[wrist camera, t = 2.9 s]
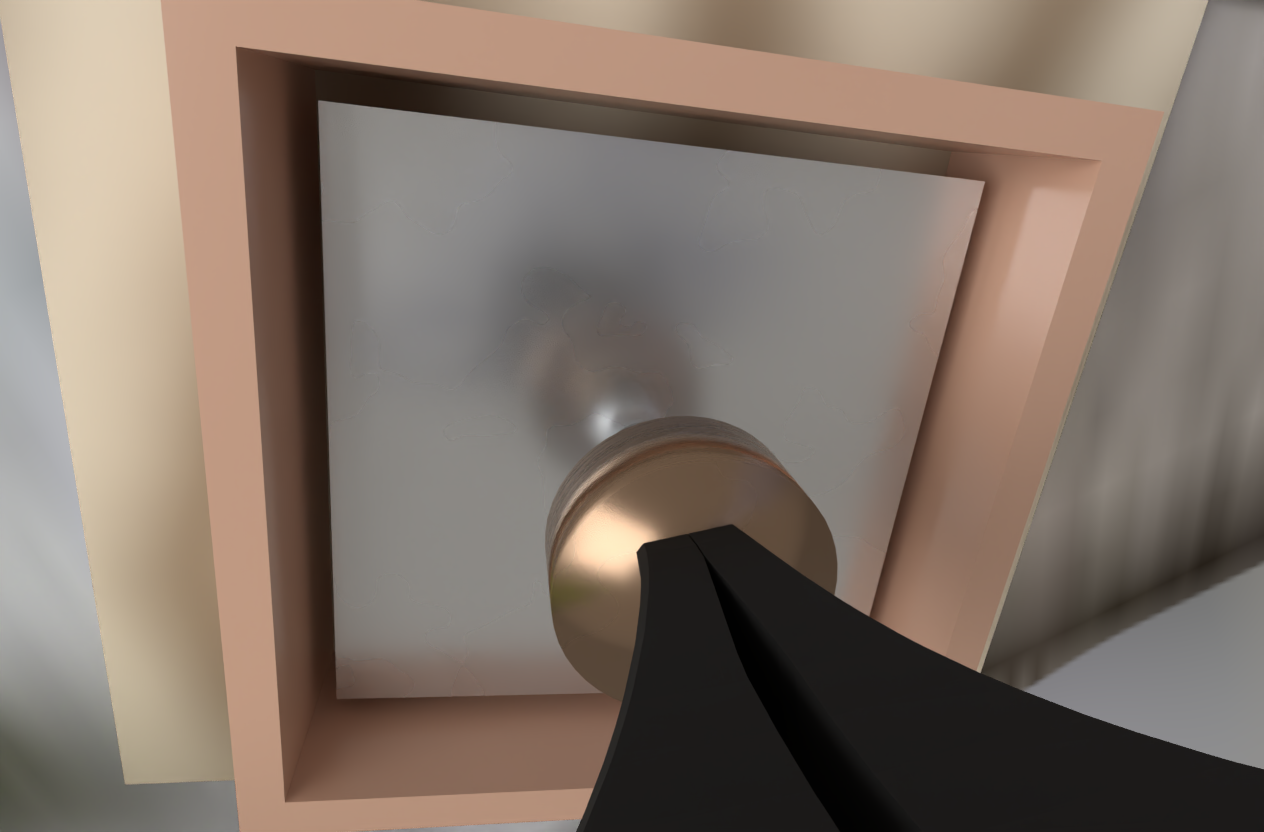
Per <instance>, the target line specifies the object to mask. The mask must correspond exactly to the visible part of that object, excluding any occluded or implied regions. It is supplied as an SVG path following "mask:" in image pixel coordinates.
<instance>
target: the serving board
mask: <svg viewBox="0 0 1264 832" xmlns="http://www.w3.org/2000/svg"><path fill="white" fill-rule="evenodd" d="M419 1H426V2H432V3H439V4H446V5H452V6H459V7H466V8H473V9H479V10H486V11H493V12H499V13H506V14H513V15H519V16H526V17H533V18H540V19H546V20H553V21H560V22H566V23H573V24H580V25H587V26H593V27H600V28H607V29H613V30H620V31H627V32H633V33H640V34H647V35H654V36H660V37H667V38H674V39H680V40H687V41H694V42H700V43H707V44H714V45H721V46H727V47H734V48H741V49H747V50H754V51H761V52H768V53H774V54H781V55H788V56H794V57H801V58H808V59H814V60H821V61H828V62H835V63H841V64H848V65H855V66H861V67H868V68H875V69H881V70H888V71H895V72H902V73H908V74H915V75H922V76H928V77H935V78H942V79H949V80H955V81H962V82H969V83H975V84H982V85H989V86H995V87H1002V88H1009V89H1016V90H1022V91H1029V92H1036V93H1042V94H1049V95H1056V96H1062V97H1069V98H1076V99H1083V100H1089V101H1096V102H1103V103H1109V104H1116V105H1123V106H1130V107H1136V108H1143V109H1150V110H1156V111H1163V112H1164V115H1163V118H1162V121H1161V124H1160V127H1159V129H1158V132H1157V135H1156V138H1155V141H1154V144H1153V147H1152V150H1151V153H1150V156H1149V159H1148V162H1147V165H1146V168H1145V171H1144V174H1143V177H1142V180H1141V183H1140V186H1139V189H1138V192H1137V195H1136V198H1135V201H1134V204H1133V207H1132V210H1131V213H1130V216H1129V219H1128V222H1127V225H1126V228H1125V231H1124V234H1123V237H1122V240H1121V242H1120V245H1119V248H1118V251H1117V254H1116V257H1115V260H1114V263H1113V266H1112V269H1111V272H1110V275H1109V278H1108V281H1107V284H1106V287H1105V290H1104V293H1103V296H1102V299H1101V302H1100V305H1099V308H1098V311H1097V314H1096V317H1095V320H1094V323H1093V326H1092V329H1091V332H1090V335H1089V338H1088V341H1087V344H1086V347H1085V350H1084V352H1083V355H1082V358H1081V361H1080V364H1079V367H1078V370H1077V373H1076V376H1075V379H1074V382H1073V385H1072V388H1071V391H1070V394H1069V397H1068V400H1067V403H1066V406H1065V409H1064V412H1063V415H1062V418H1061V421H1060V424H1059V427H1058V430H1057V433H1056V436H1055V439H1054V442H1053V445H1052V448H1051V451H1050V454H1049V457H1048V460H1047V463H1046V465H1045V468H1044V471H1043V474H1042V477H1041V480H1040V483H1039V486H1038V489H1037V492H1036V495H1035V498H1034V501H1033V504H1032V507H1031V510H1030V513H1029V516H1028V519H1027V522H1026V525H1025V528H1024V531H1023V534H1022V537H1021V540H1020V543H1019V546H1018V549H1017V552H1016V555H1015V558H1014V561H1013V564H1012V567H1011V570H1010V573H1009V575H1008V578H1007V581H1006V584H1005V587H1004V590H1003V593H1002V596H1001V599H1000V602H999V605H998V608H997V611H996V614H995V617H994V620H993V623H992V626H991V629H990V632H989V635H988V638H987V641H986V644H985V647H984V650H983V653H982V656H981V659H980V662H979V665H978V668H977V672H979V673H981V670H982V667H983V664H984V661H985V658H986V655H987V652H988V649H989V646H990V643H991V640H992V637H993V634H994V631H995V629H996V626H997V623H998V620H999V617H1000V614H1001V611H1002V608H1003V605H1004V602H1005V599H1006V596H1007V593H1008V590H1009V587H1010V584H1011V581H1012V578H1013V575H1014V573H1015V570H1016V567H1017V564H1018V561H1019V558H1020V555H1021V552H1022V549H1023V546H1024V543H1025V540H1026V537H1027V534H1028V531H1029V528H1030V525H1031V522H1032V519H1033V516H1034V514H1035V511H1036V508H1037V505H1038V502H1039V499H1040V496H1041V493H1042V490H1043V487H1044V484H1045V481H1046V478H1047V475H1048V472H1049V469H1050V466H1051V463H1052V460H1053V457H1054V455H1055V452H1056V449H1057V446H1058V443H1059V440H1060V437H1061V434H1062V431H1063V428H1064V425H1065V422H1066V419H1067V416H1068V413H1069V410H1070V407H1071V404H1072V401H1073V398H1074V396H1075V393H1076V390H1077V387H1078V384H1079V381H1080V378H1081V375H1082V372H1083V369H1084V366H1085V363H1086V360H1087V357H1088V354H1089V351H1090V348H1091V345H1092V342H1093V339H1094V337H1095V334H1096V331H1097V328H1098V325H1099V322H1100V319H1101V316H1102V313H1103V310H1104V307H1105V304H1106V301H1107V298H1108V295H1109V292H1110V289H1111V286H1112V283H1113V281H1114V278H1115V275H1116V272H1117V269H1118V266H1119V263H1120V260H1121V257H1122V254H1123V251H1124V248H1125V245H1126V242H1127V239H1128V236H1129V233H1130V230H1131V227H1132V224H1133V222H1134V219H1135V216H1136V213H1137V210H1138V207H1139V204H1140V201H1141V198H1142V195H1143V192H1144V189H1145V186H1146V183H1147V180H1148V177H1149V174H1150V171H1151V168H1152V165H1153V163H1154V160H1155V157H1156V154H1157V151H1158V148H1159V145H1160V142H1161V139H1162V136H1163V133H1164V130H1165V127H1166V124H1167V121H1168V118H1169V115H1170V112H1171V109H1172V106H1173V104H1174V101H1175V98H1176V95H1177V92H1178V89H1179V86H1180V83H1181V80H1182V77H1183V74H1184V71H1185V68H1186V65H1187V62H1188V59H1189V56H1190V53H1191V50H1192V47H1193V45H1194V42H1195V39H1196V36H1197V33H1198V30H1199V27H1200V24H1201V21H1202V18H1203V15H1204V12H1205V9H1206V6H1207V3H1208V0H419ZM0 18H1V24H2V31H3V37H4V43H5V49H6V55H7V61H8V68H9V74H10V80H11V86H12V92H13V98H14V104H15V111H16V117H17V123H18V129H19V135H20V141H21V147H22V154H23V160H24V166H25V172H26V178H27V184H28V191H29V197H30V203H31V209H32V215H33V221H34V227H35V234H36V240H37V246H38V252H39V258H40V264H41V270H42V277H43V283H44V289H45V295H46V301H47V307H48V314H49V320H50V326H51V332H52V338H53V344H54V350H55V357H56V363H57V369H58V375H59V381H60V387H61V393H62V400H63V406H64V412H65V418H66V424H67V430H68V436H69V443H70V449H71V455H72V461H73V467H74V473H75V480H76V486H77V492H78V498H79V504H80V510H81V516H82V523H83V529H84V535H85V541H86V547H87V553H88V559H89V566H90V572H91V578H92V584H93V590H94V596H95V603H96V609H97V615H98V621H99V627H100V633H101V639H102V646H103V652H104V658H105V664H106V670H107V676H108V682H109V689H110V695H111V701H112V707H113V713H114V719H115V726H116V732H117V738H118V744H119V750H120V756H121V762H122V769H123V775H124V781H125V785H127V784H152V783H176V782H200V781H225V780H235V778H234V767H233V757H232V746H231V736H230V725H229V715H228V704H227V693H226V683H225V672H224V662H223V651H222V641H221V630H220V620H219V609H218V599H217V588H216V578H215V567H214V557H213V546H212V536H211V525H210V515H209V504H208V494H207V483H206V473H205V462H204V452H203V441H202V431H201V420H200V410H199V399H198V388H197V378H196V367H195V357H194V346H193V336H192V325H191V315H190V304H189V294H188V283H187V273H186V262H185V252H184V241H183V231H182V220H181V210H180V199H179V189H178V178H177V168H176V157H175V147H174V136H173V126H172V115H171V104H170V94H169V83H168V73H167V62H166V52H165V41H164V31H163V20H162V10H161V0H0ZM315 85H316V116H317V148H318V179H319V210H320V241H321V273H322V304H323V335H324V366H325V397H326V429H327V460H328V491H329V522H330V554H331V585H332V616H333V647H334V651H335V625H334V593H333V561H332V528H331V496H330V464H329V432H328V400H327V367H326V335H325V303H324V271H323V239H322V207H321V174H320V142H319V110H318V100H319V101H327V102H335V103H344V104H352V105H360V106H368V107H377V108H385V109H393V110H401V111H409V112H418V113H426V114H434V115H442V116H451V117H459V118H467V119H475V120H483V121H492V122H500V123H508V124H516V125H525V126H533V127H541V128H549V129H558V130H566V131H574V132H582V133H590V134H599V135H607V136H615V137H623V138H632V139H640V140H648V141H656V142H664V143H673V144H681V145H689V146H697V147H706V148H714V149H722V150H730V151H739V152H747V153H755V154H763V155H771V156H780V157H788V158H796V159H804V160H813V161H821V162H829V163H837V164H845V165H854V166H862V167H870V168H878V169H887V170H895V171H903V172H911V173H920V174H928V175H936V176H944V177H945V176H946V172H947V168H948V164H949V160H950V156H951V152H950V151H943V150H935V149H927V148H919V147H911V146H904V145H896V144H888V143H880V142H873V141H865V140H857V139H849V138H842V137H834V136H826V135H818V134H811V133H803V132H795V131H787V130H780V129H772V128H764V127H756V126H748V125H741V124H733V123H725V122H717V121H710V120H702V119H694V118H686V117H679V116H671V115H663V114H655V113H648V112H640V111H632V110H624V109H617V108H609V107H601V106H593V105H585V104H578V103H570V102H562V101H554V100H547V99H539V98H531V97H523V96H516V95H508V94H500V93H492V92H485V91H477V90H469V89H461V88H454V87H446V86H438V85H430V84H423V83H415V82H407V81H399V80H391V79H384V78H376V77H368V76H360V75H353V74H345V73H337V72H329V71H322V70H315Z"/></svg>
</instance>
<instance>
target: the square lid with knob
mask: <svg viewBox="0 0 1264 832" xmlns="http://www.w3.org/2000/svg"><path fill="white" fill-rule="evenodd" d="M318 110H319V142H320V174H321V207H322V239H323V271H324V303H325V335H326V367H327V400H328V432H329V464H330V496H331V528H332V561H333V593H334V625H335V657H336V689H337V699H362V698H406V697H451V696H495V695H540V694H584V693H604V694H606V695H608V696H610V697H612V698H614V699H616V700H619V701H621V702H622V700H623V697H624V693H625V688H626V683H627V679H628V674H629V670H630V665H631V661H632V656H633V651H634V646H635V640H636V632H637V624H638V616H639V608H640V594H641V577H640V572H639V566H638V560H637V554H636V552H637V551H638V549H639V548H640V547H641V546H642V544H643V543H647V542H651V541H656V540H661V539H665V538H670V537H674V536H679V535H684V534H688V536H689V533H693V532H698V531H702V530H707V529H711V528H716V527H721V526H725V525H730V524H733V525H734V526H736V527H737V528H739V529H740V530H741V531H743V532H744V533H746V534H747V535H749V536H750V537H751V538H753V539H754V540H755V541H757V542H758V543H760V544H761V545H762V546H764V547H765V548H766V549H768V550H769V551H770V552H772V553H773V554H775V555H776V556H777V557H779V558H780V559H782V560H783V561H784V562H786V563H787V564H789V565H790V566H791V567H793V568H794V569H796V570H797V571H799V572H800V573H801V574H803V575H804V576H806V577H807V578H809V579H810V580H812V581H813V582H815V583H816V584H818V585H819V586H821V587H822V588H824V589H825V590H827V591H829V592H830V593H832V594H833V595H835V596H836V597H838V598H839V599H841V600H842V601H844V602H846V603H847V604H849V605H851V606H852V607H854V608H855V609H857V610H859V611H860V612H862V613H864V614H866V615H868V616H869V615H870V612H871V608H872V604H873V600H874V597H875V593H876V589H877V585H878V582H879V578H880V574H881V570H882V567H883V563H884V559H885V555H886V552H887V548H888V544H889V540H890V537H891V533H892V529H893V525H894V522H895V518H896V514H897V510H898V506H899V503H900V499H901V495H902V491H903V488H904V484H905V480H906V476H907V473H908V469H909V465H910V461H911V458H912V454H913V450H914V446H915V443H916V439H917V435H918V431H919V428H920V424H921V420H922V416H923V413H924V409H925V405H926V401H927V398H928V394H929V390H930V386H931V383H932V379H933V375H934V371H935V368H936V364H937V360H938V356H939V353H940V349H941V345H942V341H943V338H944V334H945V330H946V326H947V323H948V319H949V315H950V311H951V308H952V304H953V300H954V296H955V293H956V289H957V285H958V281H959V278H960V274H961V270H962V266H963V263H964V259H965V255H966V251H967V248H968V244H969V240H970V236H971V233H972V229H973V225H974V221H975V218H976V214H977V210H978V206H979V203H980V199H981V195H982V191H983V188H984V184H985V181H977V180H969V179H961V178H952V177H944V176H936V175H928V174H920V173H911V172H903V171H895V170H887V169H878V168H870V167H862V166H854V165H845V164H837V163H829V162H821V161H813V160H804V159H796V158H788V157H780V156H771V155H763V154H755V153H747V152H739V151H730V150H722V149H714V148H706V147H697V146H689V145H681V144H673V143H664V142H656V141H648V140H640V139H632V138H623V137H615V136H607V135H599V134H590V133H582V132H574V131H566V130H558V129H549V128H541V127H533V126H525V125H516V124H508V123H500V122H492V121H483V120H475V119H467V118H459V117H451V116H442V115H434V114H426V113H418V112H409V111H401V110H393V109H385V108H377V107H368V106H360V105H352V104H344V103H335V102H327V101H319V100H318Z"/></svg>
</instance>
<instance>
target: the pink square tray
mask: <svg viewBox="0 0 1264 832" xmlns="http://www.w3.org/2000/svg"><path fill="white" fill-rule="evenodd" d="M161 10H162V20H163V31H164V41H165V52H166V62H167V73H168V83H169V94H170V104H171V115H172V126H173V136H174V147H175V157H176V168H177V178H178V189H179V199H180V210H181V220H182V231H183V241H184V252H185V262H186V273H187V283H188V294H189V304H190V315H191V325H192V336H193V346H194V357H195V367H196V378H197V388H198V399H199V410H200V420H201V431H202V441H203V452H204V462H205V473H206V483H207V494H208V504H209V515H210V525H211V536H212V546H213V557H214V567H215V578H216V588H217V599H218V609H219V620H220V630H221V641H222V651H223V662H224V672H225V683H226V693H227V704H228V715H229V725H230V736H231V746H232V757H233V767H234V778H235V788H236V799H237V809H238V820H239V830H240V832H354V831H372V830H391V829H409V828H427V827H445V826H464V825H482V824H500V823H519V822H537V821H555V820H574V819H582V817H583V814H584V812H585V809H586V807H587V804H588V802H589V799H590V796H591V794H592V791H593V789H594V786H595V783H596V781H597V778H598V776H599V773H600V770H601V768H602V765H603V762H604V759H605V756H606V753H607V750H608V747H609V744H610V741H611V738H612V735H613V732H614V729H615V725H616V722H617V718H618V715H619V711H620V708H621V704H622V702H621V701H619V700H616V699H614V698H612V697H610V696H608V695H606V694H604V693H584V694H540V695H495V696H451V697H406V698H362V699H337V689H336V657H335V651H334V647H333V616H332V585H331V554H330V522H329V491H328V460H327V429H326V397H325V366H324V335H323V304H322V273H321V241H320V210H319V179H318V148H317V116H316V85H315V70H322V71H329V72H337V73H345V74H353V75H360V76H368V77H376V78H384V79H391V80H399V81H407V82H415V83H423V84H430V85H438V86H446V87H454V88H461V89H469V90H477V91H485V92H492V93H500V94H508V95H516V96H523V97H531V98H539V99H547V100H554V101H562V102H570V103H578V104H585V105H593V106H601V107H609V108H617V109H624V110H632V111H640V112H648V113H655V114H663V115H671V116H679V117H686V118H694V119H702V120H710V121H717V122H725V123H733V124H741V125H748V126H756V127H764V128H772V129H780V130H787V131H795V132H803V133H811V134H818V135H826V136H834V137H842V138H849V139H857V140H865V141H873V142H880V143H888V144H896V145H904V146H911V147H919V148H927V149H935V150H943V151H950V152H951V156H950V160H949V164H948V168H947V172H946V176H945V177H952V178H961V179H969V180H977V181H985V184H984V188H983V191H982V195H981V199H980V203H979V206H978V210H977V214H976V218H975V221H974V225H973V229H972V233H971V236H970V240H969V244H968V248H967V251H966V255H965V259H964V263H963V266H962V270H961V274H960V278H959V281H958V285H957V289H956V293H955V296H954V300H953V304H952V308H951V311H950V315H949V319H948V323H947V326H946V330H945V334H944V338H943V341H942V345H941V349H940V353H939V356H938V360H937V364H936V368H935V371H934V375H933V379H932V383H931V386H930V390H929V394H928V398H927V401H926V405H925V409H924V413H923V416H922V420H921V424H920V428H919V431H918V435H917V439H916V443H915V446H914V450H913V454H912V458H911V461H910V465H909V469H908V473H907V476H906V480H905V484H904V488H903V491H902V495H901V499H900V503H899V506H898V510H897V514H896V518H895V522H894V525H893V529H892V533H891V537H890V540H889V544H888V548H887V552H886V555H885V559H884V563H883V567H882V570H881V574H880V578H879V582H878V585H877V589H876V593H875V597H874V600H873V604H872V608H871V612H870V615H869V617H871V618H873V619H875V620H876V621H878V622H880V623H882V624H883V625H885V626H887V627H889V628H890V629H892V630H894V631H896V632H897V633H899V634H901V635H903V636H905V637H907V638H909V639H911V640H913V641H914V642H916V643H918V644H920V645H922V646H924V647H926V648H928V649H930V650H932V651H934V652H937V653H939V654H941V655H943V656H945V657H947V658H949V659H951V660H954V661H956V662H958V663H960V664H962V665H964V666H966V667H968V668H971V669H973V670H975V671H977V668H978V665H979V662H980V659H981V656H982V653H983V650H984V647H985V644H986V641H987V638H988V635H989V632H990V629H991V626H992V623H993V620H994V617H995V614H996V611H997V608H998V605H999V602H1000V599H1001V596H1002V593H1003V590H1004V587H1005V584H1006V581H1007V578H1008V575H1009V573H1010V570H1011V567H1012V564H1013V561H1014V558H1015V555H1016V552H1017V549H1018V546H1019V543H1020V540H1021V537H1022V534H1023V531H1024V528H1025V525H1026V522H1027V519H1028V516H1029V513H1030V510H1031V507H1032V504H1033V501H1034V498H1035V495H1036V492H1037V489H1038V486H1039V483H1040V480H1041V477H1042V474H1043V471H1044V468H1045V465H1046V463H1047V460H1048V457H1049V454H1050V451H1051V448H1052V445H1053V442H1054V439H1055V436H1056V433H1057V430H1058V427H1059V424H1060V421H1061V418H1062V415H1063V412H1064V409H1065V406H1066V403H1067V400H1068V397H1069V394H1070V391H1071V388H1072V385H1073V382H1074V379H1075V376H1076V373H1077V370H1078V367H1079V364H1080V361H1081V358H1082V355H1083V352H1084V350H1085V347H1086V344H1087V341H1088V338H1089V335H1090V332H1091V329H1092V326H1093V323H1094V320H1095V317H1096V314H1097V311H1098V308H1099V305H1100V302H1101V299H1102V296H1103V293H1104V290H1105V287H1106V284H1107V281H1108V278H1109V275H1110V272H1111V269H1112V266H1113V263H1114V260H1115V257H1116V254H1117V251H1118V248H1119V245H1120V242H1121V240H1122V237H1123V234H1124V231H1125V228H1126V225H1127V222H1128V219H1129V216H1130V213H1131V210H1132V207H1133V204H1134V201H1135V198H1136V195H1137V192H1138V189H1139V186H1140V183H1141V180H1142V177H1143V174H1144V171H1145V168H1146V165H1147V162H1148V159H1149V156H1150V153H1151V150H1152V147H1153V144H1154V141H1155V138H1156V135H1157V132H1158V129H1159V127H1160V124H1161V121H1162V118H1163V115H1164V112H1163V111H1156V110H1150V109H1143V108H1136V107H1130V106H1123V105H1116V104H1109V103H1103V102H1096V101H1089V100H1083V99H1076V98H1069V97H1062V96H1056V95H1049V94H1042V93H1036V92H1029V91H1022V90H1016V89H1009V88H1002V87H995V86H989V85H982V84H975V83H969V82H962V81H955V80H949V79H942V78H935V77H928V76H922V75H915V74H908V73H902V72H895V71H888V70H881V69H875V68H868V67H861V66H855V65H848V64H841V63H835V62H828V61H821V60H814V59H808V58H801V57H794V56H788V55H781V54H774V53H768V52H761V51H754V50H747V49H741V48H734V47H727V46H721V45H714V44H707V43H700V42H694V41H687V40H680V39H674V38H667V37H660V36H654V35H647V34H640V33H633V32H627V31H620V30H613V29H607V28H600V27H593V26H587V25H580V24H573V23H566V22H560V21H553V20H546V19H540V18H533V17H526V16H519V15H513V14H506V13H499V12H493V11H486V10H479V9H473V8H466V7H459V6H452V5H446V4H439V3H432V2H426V1H419V0H161Z"/></svg>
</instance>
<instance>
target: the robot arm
mask: <svg viewBox="0 0 1264 832" xmlns="http://www.w3.org/2000/svg"><path fill="white" fill-rule="evenodd" d="M636 554H637V560H638V566H639V572H640V577H641V594H640V608H639V616H638V624H637V632H636V640H635V646H634V651H633V656H632V661H631V665H630V670H629V674H628V679H627V683H626V688H625V693H624V697H623V700H622V704H621V708H620V711H619V715H618V718H617V722H616V725H615V729H614V732H613V735H612V738H611V741H610V744H609V747H608V750H607V753H606V756H605V759H604V762H603V765H602V768H601V770H600V773H599V776H598V778H597V781H596V783H595V786H594V789H593V791H592V794H591V796H590V799H589V802H588V804H587V807H586V809H585V812H584V814H583V817H582V819H581V822H580V824H579V826H578V829H577V831H576V832H1264V769H1260V768H1256V767H1252V766H1248V765H1244V764H1241V763H1236V762H1233V761H1229V760H1226V759H1222V758H1219V757H1215V756H1212V755H1209V754H1205V753H1202V752H1199V751H1195V750H1192V749H1189V748H1186V747H1183V746H1179V745H1176V744H1173V743H1170V742H1166V741H1163V740H1160V739H1157V738H1153V737H1150V736H1147V735H1144V734H1140V733H1137V732H1134V731H1131V730H1128V729H1125V728H1122V727H1119V726H1116V725H1113V724H1110V723H1107V722H1105V721H1102V720H1099V719H1096V718H1093V717H1090V716H1087V715H1084V714H1082V713H1079V712H1076V711H1074V710H1071V709H1069V708H1066V707H1063V706H1060V705H1058V704H1056V703H1053V702H1050V701H1048V700H1045V699H1043V698H1040V697H1037V696H1035V695H1032V694H1030V693H1027V692H1024V691H1022V690H1019V689H1017V688H1014V687H1012V686H1009V685H1007V684H1005V683H1002V682H1000V681H998V680H995V679H993V678H991V677H988V676H986V675H984V674H981V673H979V672H977V671H975V670H973V669H971V668H968V667H966V666H964V665H962V664H960V663H958V662H956V661H954V660H951V659H949V658H947V657H945V656H943V655H941V654H939V653H937V652H934V651H932V650H930V649H928V648H926V647H924V646H922V645H920V644H918V643H916V642H914V641H913V640H911V639H909V638H907V637H905V636H903V635H901V634H899V633H897V632H896V631H894V630H892V629H890V628H889V627H887V626H885V625H883V624H882V623H880V622H878V621H876V620H875V619H873V618H871V617H869V616H868V615H866V614H864V613H862V612H860V611H859V610H857V609H855V608H854V607H852V606H851V605H849V604H847V603H846V602H844V601H842V600H841V599H839V598H838V597H836V596H835V595H833V594H832V593H830V592H829V591H827V590H825V589H824V588H822V587H821V586H819V585H818V584H816V583H815V582H813V581H812V580H810V579H809V578H807V577H806V576H804V575H803V574H801V573H800V572H799V571H797V570H796V569H794V568H793V567H791V566H790V565H789V564H787V563H786V562H784V561H783V560H782V559H780V558H779V557H777V556H776V555H775V554H773V553H772V552H770V551H769V550H768V549H766V548H765V547H764V546H762V545H761V544H760V543H758V542H757V541H755V540H754V539H753V538H751V537H750V536H749V535H747V534H746V533H744V532H743V531H741V530H740V529H739V528H737V527H736V526H734V525H733V524H730V525H725V526H721V527H716V528H711V529H707V530H702V531H698V532H693V533H689V536H688V534H684V535H679V536H674V537H670V538H665V539H661V540H656V541H651V542H647V543H643V544H642V546H641V547H640V548H639V549H638V551H637V552H636Z"/></svg>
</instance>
